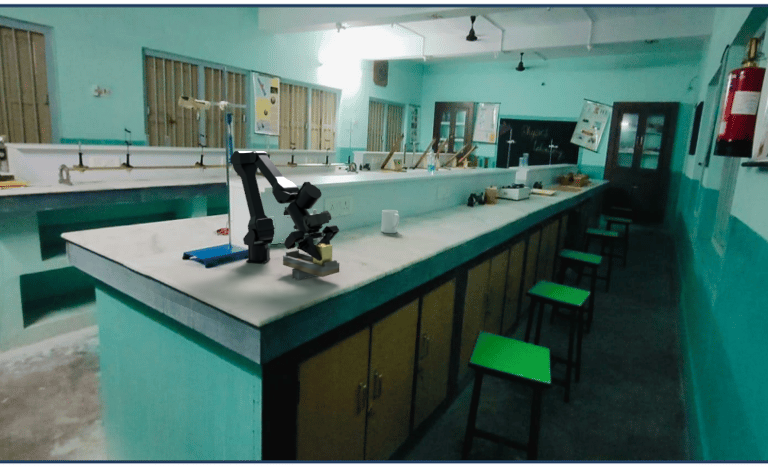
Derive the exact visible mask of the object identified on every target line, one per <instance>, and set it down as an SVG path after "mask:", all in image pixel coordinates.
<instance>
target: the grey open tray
mask: <svg viewBox="0 0 768 467" xmlns="http://www.w3.org/2000/svg"><path fill="white" fill-rule="evenodd" d="M282 265H283V266H285V267H288V268H291V270H292V271H291V275H292V276H291V278H292V279H293V280H295V281H296V280H297V281H301V280H305V279H308V278H312V277H315V276H316V277H317V276H318V277H320V278H324V277H327V276H330V275H334V274H338V273H340V262H338V260H332V261H330V262H326V263H324V266H321V265H317V264H314V263H313V257H312V256H311V255H309V254H307V253H306V252H303V251H302V252H301V251H300V249H295V250H291V251H285V255H283V256H282Z"/></svg>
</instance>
